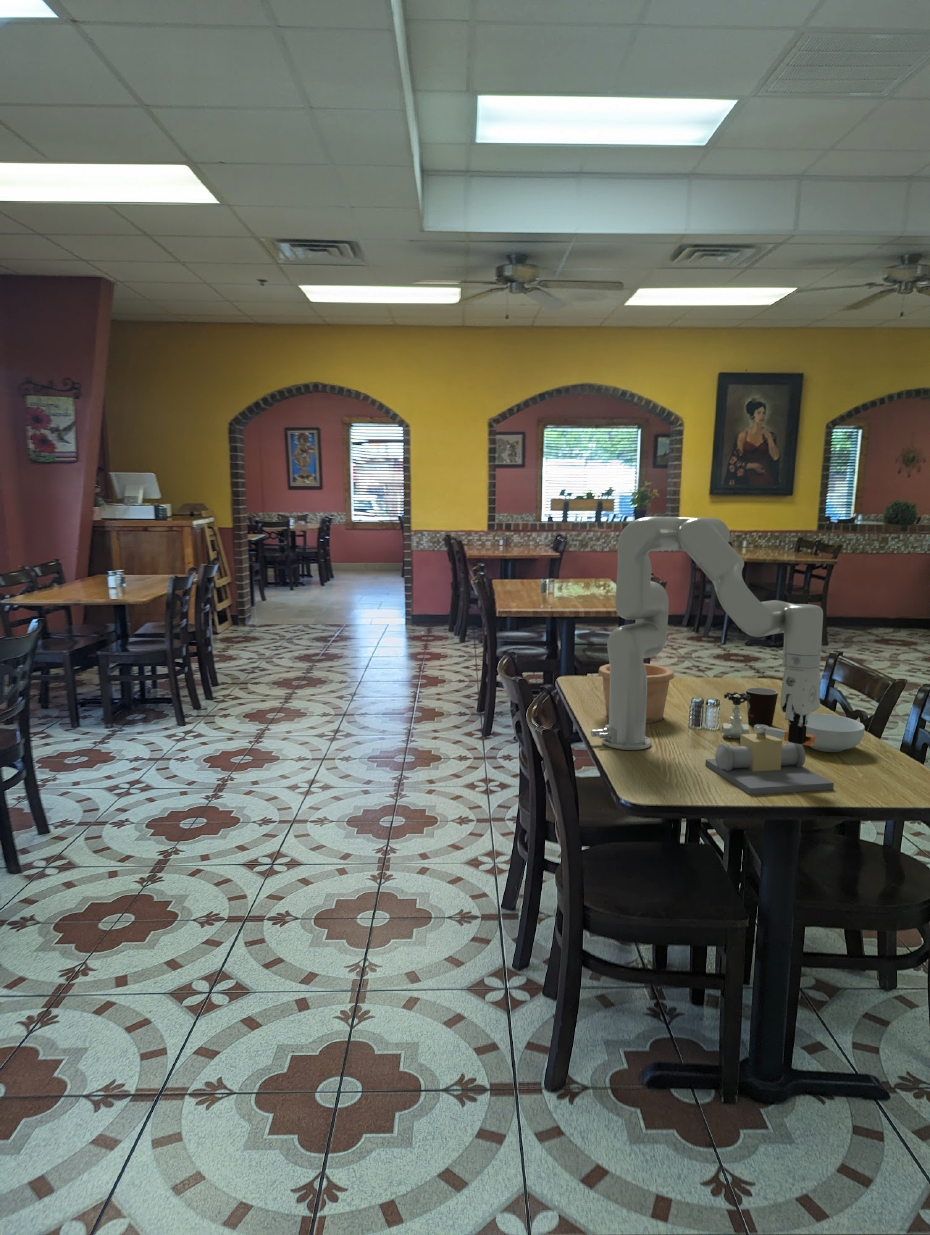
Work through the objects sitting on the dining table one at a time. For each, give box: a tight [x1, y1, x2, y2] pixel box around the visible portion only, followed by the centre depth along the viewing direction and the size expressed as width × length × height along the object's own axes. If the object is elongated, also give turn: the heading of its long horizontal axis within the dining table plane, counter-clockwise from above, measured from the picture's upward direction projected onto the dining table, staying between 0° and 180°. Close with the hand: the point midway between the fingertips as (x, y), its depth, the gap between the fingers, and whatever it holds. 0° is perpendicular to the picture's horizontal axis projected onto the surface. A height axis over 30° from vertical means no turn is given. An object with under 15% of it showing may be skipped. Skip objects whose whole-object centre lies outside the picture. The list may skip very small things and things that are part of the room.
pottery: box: [598, 663, 675, 724], centre depth 229 cm, size 22×22×14 cm
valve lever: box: [753, 724, 816, 747], centre depth 174 cm, size 14×3×2 cm, turn 42°
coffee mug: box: [745, 687, 779, 728], centre depth 221 cm, size 12×9×10 cm
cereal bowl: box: [805, 712, 866, 753], centre depth 199 cm, size 17×17×7 cm
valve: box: [721, 691, 750, 739], centre depth 207 cm, size 7×7×12 cm
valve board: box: [704, 733, 835, 796], centre depth 176 cm, size 20×20×9 cm
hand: (796, 742), depth 169 cm, fingers closed
